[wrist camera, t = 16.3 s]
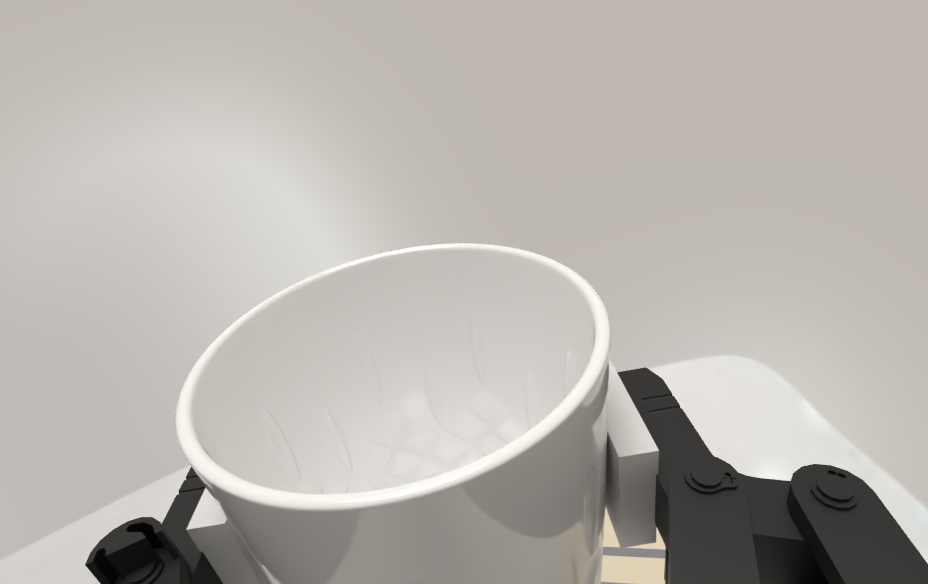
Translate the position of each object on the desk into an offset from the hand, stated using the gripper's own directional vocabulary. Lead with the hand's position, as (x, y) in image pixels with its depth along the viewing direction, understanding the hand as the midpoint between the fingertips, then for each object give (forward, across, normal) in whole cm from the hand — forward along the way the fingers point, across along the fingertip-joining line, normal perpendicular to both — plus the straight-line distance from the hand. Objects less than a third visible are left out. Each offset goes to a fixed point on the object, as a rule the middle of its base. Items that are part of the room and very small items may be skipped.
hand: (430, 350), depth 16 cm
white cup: (-5, 0, +6) cm, 8 cm away
